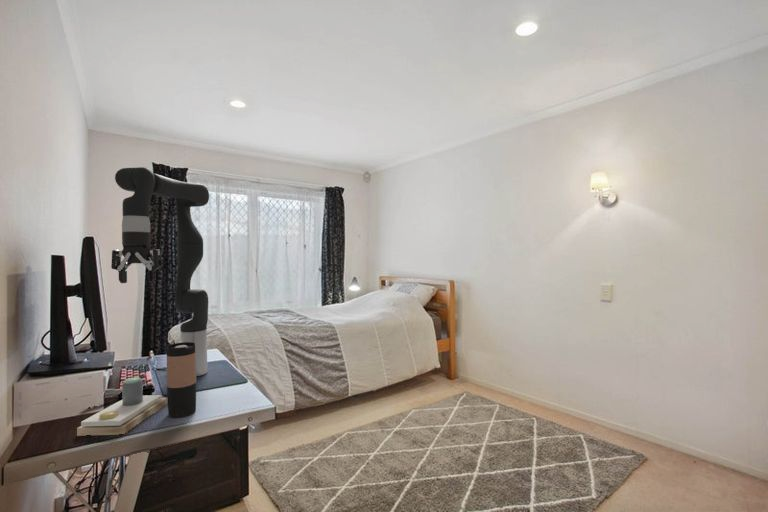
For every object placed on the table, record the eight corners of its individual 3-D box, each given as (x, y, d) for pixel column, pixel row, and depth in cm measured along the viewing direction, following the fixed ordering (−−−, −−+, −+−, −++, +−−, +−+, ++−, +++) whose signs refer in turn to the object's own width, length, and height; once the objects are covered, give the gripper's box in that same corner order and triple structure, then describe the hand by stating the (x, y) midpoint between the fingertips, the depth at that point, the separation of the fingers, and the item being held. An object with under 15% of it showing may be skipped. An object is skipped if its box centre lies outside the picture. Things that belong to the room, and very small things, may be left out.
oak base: (127, 405, 118) (127, 398, 118) (166, 404, 118) (166, 397, 118) (77, 435, 98) (77, 428, 98) (124, 434, 98) (124, 426, 98)
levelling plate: (128, 399, 117) (128, 373, 117) (161, 398, 117) (161, 372, 117) (81, 426, 98) (80, 395, 98) (120, 425, 98) (120, 394, 98)
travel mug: (169, 410, 113) (168, 343, 113) (198, 406, 116) (196, 341, 116) (165, 420, 106) (163, 349, 106) (195, 415, 109) (194, 346, 109)
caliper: (89, 409, 116) (88, 389, 116) (87, 409, 116) (86, 388, 116) (155, 388, 134) (154, 370, 134) (153, 388, 134) (152, 370, 134)
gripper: (165, 231, 123) (166, 281, 123) (121, 232, 122) (122, 282, 122) (152, 230, 115) (153, 283, 115) (104, 230, 115) (105, 284, 115)
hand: (137, 282), depth 119 cm, fingers open, 8 cm apart
